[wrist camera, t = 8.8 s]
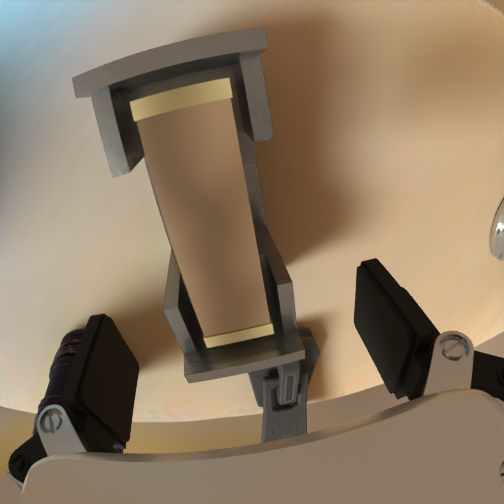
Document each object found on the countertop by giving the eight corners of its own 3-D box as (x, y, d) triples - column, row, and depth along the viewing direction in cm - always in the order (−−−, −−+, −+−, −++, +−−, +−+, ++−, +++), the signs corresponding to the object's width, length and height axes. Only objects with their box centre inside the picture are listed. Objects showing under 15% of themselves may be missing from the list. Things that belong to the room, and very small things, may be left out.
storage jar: (57, 363, 32) (32, 458, 19) (64, 317, 28) (24, 429, 16) (123, 388, 36) (114, 485, 23) (142, 347, 32) (131, 465, 19)
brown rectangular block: (222, 82, 16) (229, 77, 12) (261, 292, 24) (273, 333, 20) (147, 100, 16) (129, 101, 12) (204, 305, 24) (207, 348, 20)
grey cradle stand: (236, 58, 19) (264, 28, 10) (272, 273, 30) (305, 358, 20) (128, 83, 19) (72, 78, 9) (188, 292, 29) (188, 383, 20)
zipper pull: (257, 460, 40) (250, 378, 27) (251, 428, 46) (241, 332, 33) (310, 449, 41) (336, 362, 28) (301, 419, 47) (317, 320, 34)
